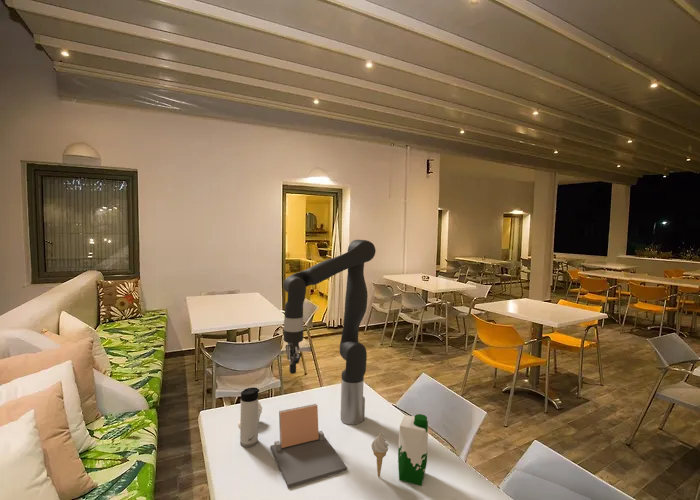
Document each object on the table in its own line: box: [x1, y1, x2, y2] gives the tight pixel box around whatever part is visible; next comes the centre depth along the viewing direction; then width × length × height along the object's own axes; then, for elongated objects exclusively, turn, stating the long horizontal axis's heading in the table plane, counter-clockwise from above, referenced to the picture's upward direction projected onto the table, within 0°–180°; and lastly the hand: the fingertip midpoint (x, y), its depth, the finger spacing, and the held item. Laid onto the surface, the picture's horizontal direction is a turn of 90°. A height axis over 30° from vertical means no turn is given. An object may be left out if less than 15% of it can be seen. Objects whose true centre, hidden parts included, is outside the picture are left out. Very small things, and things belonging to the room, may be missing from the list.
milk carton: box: [397, 413, 429, 487], centre depth 117 cm, size 9×9×20 cm
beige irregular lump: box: [237, 401, 263, 430], centre depth 146 cm, size 6×8×12 cm
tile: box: [278, 403, 319, 448], centre depth 133 cm, size 14×2×12 cm, turn 116°
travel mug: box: [239, 387, 260, 448], centre depth 134 cm, size 6×7×20 cm
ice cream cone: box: [370, 431, 389, 478], centre depth 117 cm, size 6×6×15 cm
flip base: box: [269, 430, 348, 489], centre depth 125 cm, size 20×22×3 cm
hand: (292, 372), depth 140 cm, fingers closed
